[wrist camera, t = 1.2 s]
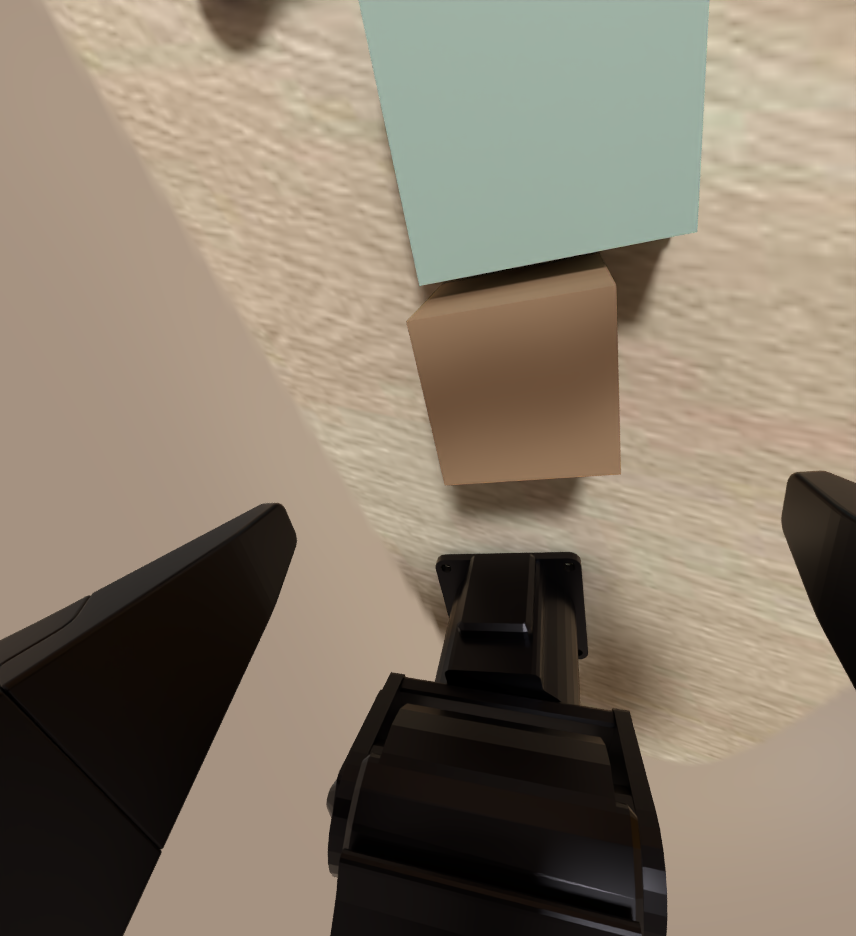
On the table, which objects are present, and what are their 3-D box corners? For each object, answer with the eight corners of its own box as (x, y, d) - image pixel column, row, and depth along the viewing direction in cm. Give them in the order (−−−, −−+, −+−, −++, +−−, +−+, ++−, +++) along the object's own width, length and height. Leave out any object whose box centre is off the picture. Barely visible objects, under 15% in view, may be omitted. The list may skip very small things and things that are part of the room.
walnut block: (605, 400, 17) (621, 474, 13) (469, 415, 19) (444, 485, 15) (598, 252, 15) (616, 285, 11) (443, 282, 16) (406, 321, 12)
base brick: (675, 223, 14) (701, 235, 11) (437, 271, 16) (416, 290, 14) (686, -136, 10) (727, -230, 8) (382, -15, 13) (341, -61, 10)
